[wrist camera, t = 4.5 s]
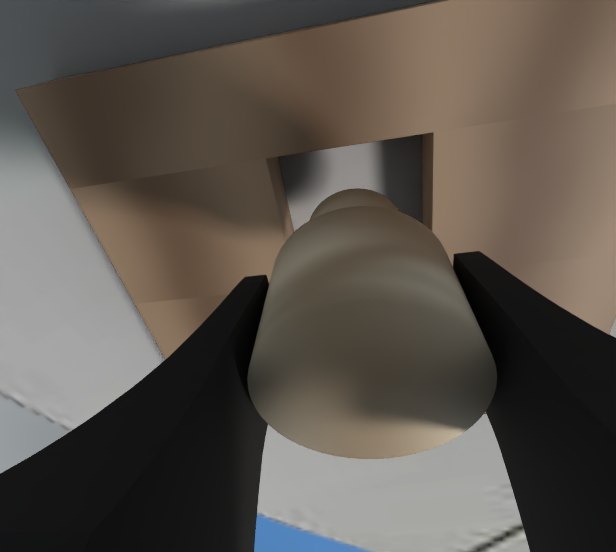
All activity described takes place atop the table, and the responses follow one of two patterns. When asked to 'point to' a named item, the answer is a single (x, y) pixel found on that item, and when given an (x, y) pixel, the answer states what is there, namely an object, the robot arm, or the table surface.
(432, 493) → the table surface
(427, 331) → the birch peg
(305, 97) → the keyhole plate
